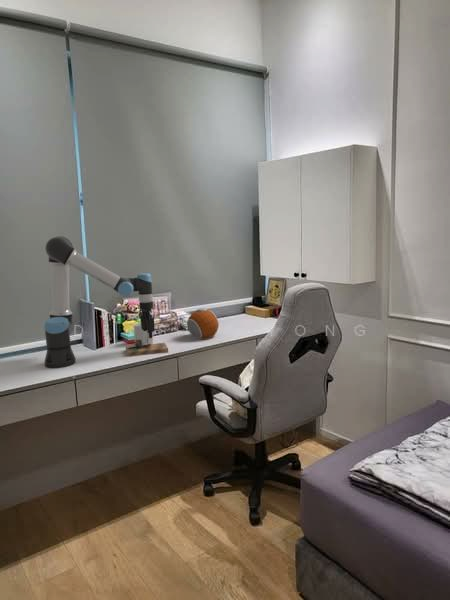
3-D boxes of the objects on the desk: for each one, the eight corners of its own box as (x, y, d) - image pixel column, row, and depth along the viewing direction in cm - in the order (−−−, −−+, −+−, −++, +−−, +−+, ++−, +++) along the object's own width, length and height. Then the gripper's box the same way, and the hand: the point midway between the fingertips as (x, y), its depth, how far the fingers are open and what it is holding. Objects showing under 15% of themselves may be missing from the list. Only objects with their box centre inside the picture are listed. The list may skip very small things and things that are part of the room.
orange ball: (224, 336, 290) (223, 308, 287) (200, 342, 279) (199, 313, 277) (206, 331, 305) (205, 304, 302) (183, 336, 295) (181, 308, 292)
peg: (129, 349, 260) (128, 333, 258) (127, 348, 263) (126, 332, 261) (152, 346, 265) (151, 330, 264) (150, 344, 268) (149, 329, 266)
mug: (137, 345, 277) (136, 326, 275) (132, 342, 284) (131, 324, 282) (157, 342, 282) (156, 324, 280) (151, 339, 290) (150, 321, 288)
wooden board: (127, 356, 255) (127, 352, 255) (125, 350, 267) (125, 346, 267) (168, 351, 261) (167, 348, 260) (164, 346, 273) (164, 342, 273)
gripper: (159, 302, 258) (161, 344, 262) (145, 299, 271) (147, 339, 274) (147, 303, 254) (149, 346, 257) (133, 301, 266) (136, 342, 270)
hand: (148, 343), depth 266 cm, fingers open, 3 cm apart
